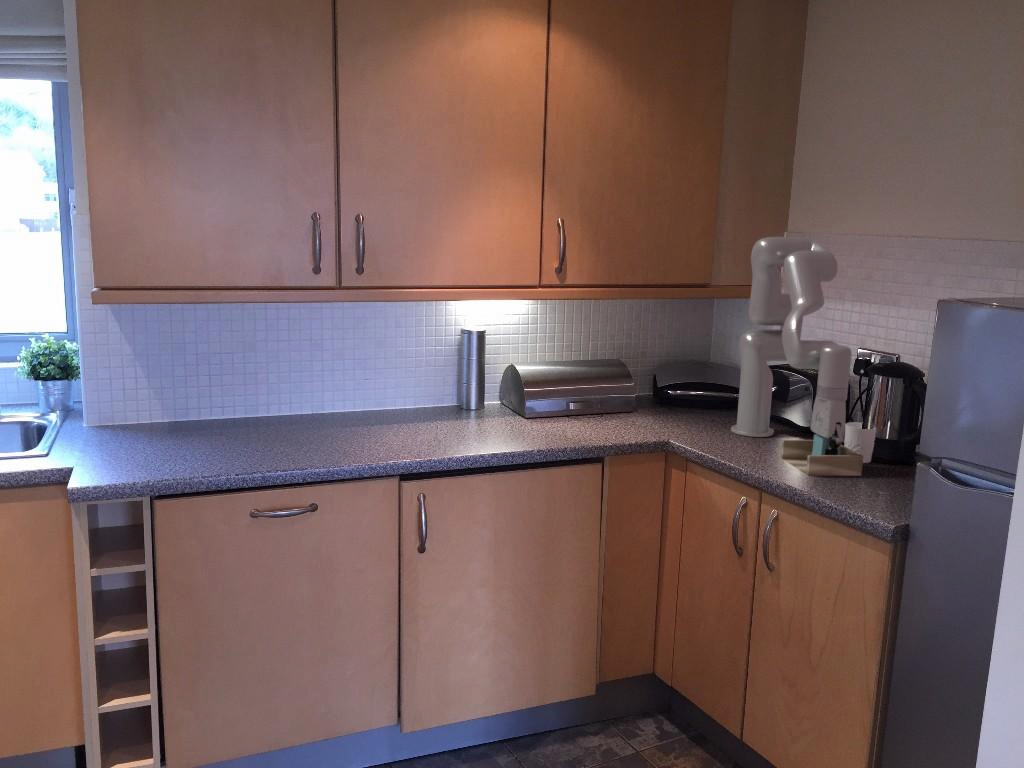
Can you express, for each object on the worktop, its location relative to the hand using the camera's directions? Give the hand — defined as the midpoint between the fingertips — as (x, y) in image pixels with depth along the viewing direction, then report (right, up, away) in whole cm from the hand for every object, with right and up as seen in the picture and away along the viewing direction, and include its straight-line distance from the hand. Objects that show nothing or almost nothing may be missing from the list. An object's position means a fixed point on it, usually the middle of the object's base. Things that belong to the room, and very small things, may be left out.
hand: (825, 460), depth 230 cm
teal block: (0, -1, 0) cm, 1 cm away
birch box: (-2, -2, 0) cm, 3 cm away
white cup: (+12, -1, +8) cm, 14 cm away
